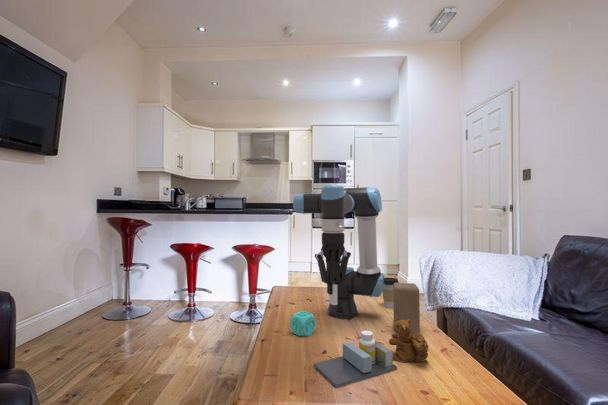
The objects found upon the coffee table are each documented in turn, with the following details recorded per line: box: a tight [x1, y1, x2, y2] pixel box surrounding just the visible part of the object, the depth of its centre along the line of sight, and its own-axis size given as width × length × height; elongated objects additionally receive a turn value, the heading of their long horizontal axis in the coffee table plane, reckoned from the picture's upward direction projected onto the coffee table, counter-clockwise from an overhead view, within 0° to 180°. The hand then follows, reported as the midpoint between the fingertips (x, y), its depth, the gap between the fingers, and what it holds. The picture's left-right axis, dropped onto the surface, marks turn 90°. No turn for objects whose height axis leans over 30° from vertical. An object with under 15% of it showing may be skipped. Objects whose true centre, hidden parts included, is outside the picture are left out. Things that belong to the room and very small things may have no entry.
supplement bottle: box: [358, 330, 376, 364], centre depth 104 cm, size 5×5×10 cm
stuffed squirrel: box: [388, 320, 429, 363], centre depth 108 cm, size 10×14×13 cm
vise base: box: [313, 340, 398, 389], centre depth 101 cm, size 14×24×6 cm, turn 116°
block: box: [392, 282, 421, 335], centre depth 133 cm, size 10×10×20 cm
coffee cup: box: [382, 277, 400, 309], centre depth 167 cm, size 10×10×15 cm
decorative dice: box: [289, 310, 317, 337], centre depth 131 cm, size 8×8×8 cm
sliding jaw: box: [342, 341, 372, 373], centre depth 102 cm, size 12×4×5 cm, turn 26°
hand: (333, 303), depth 99 cm, fingers closed
